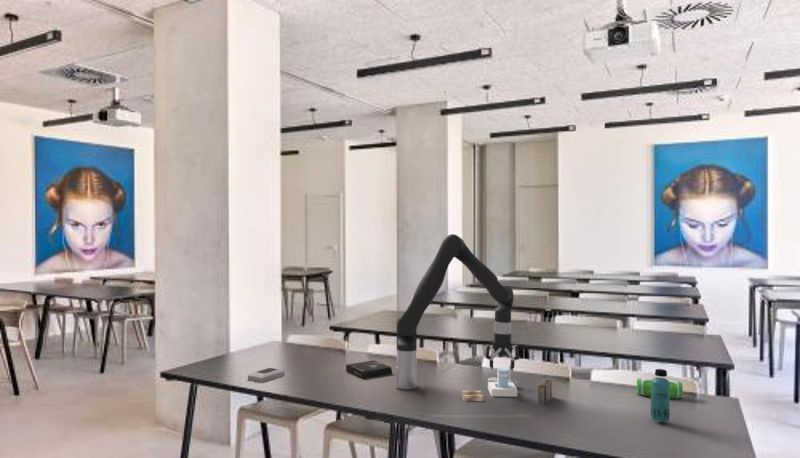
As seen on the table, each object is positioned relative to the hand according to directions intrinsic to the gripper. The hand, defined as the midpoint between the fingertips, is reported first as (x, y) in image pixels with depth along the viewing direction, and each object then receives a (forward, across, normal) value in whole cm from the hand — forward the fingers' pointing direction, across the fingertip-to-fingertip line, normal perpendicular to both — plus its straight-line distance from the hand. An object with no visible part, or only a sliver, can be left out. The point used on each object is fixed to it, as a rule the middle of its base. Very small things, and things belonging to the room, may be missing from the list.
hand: (501, 368), depth 245 cm
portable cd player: (+13, -61, +35) cm, 71 cm away
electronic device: (+12, +3, +15) cm, 19 cm away
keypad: (+14, -110, +24) cm, 113 cm away
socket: (+11, 0, 0) cm, 11 cm away
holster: (+12, -14, -8) cm, 19 cm away
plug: (+10, +1, 0) cm, 10 cm away
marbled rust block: (+12, +18, -7) cm, 22 cm away
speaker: (+11, +68, 0) cm, 69 cm away
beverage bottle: (+11, +55, -32) cm, 64 cm away
